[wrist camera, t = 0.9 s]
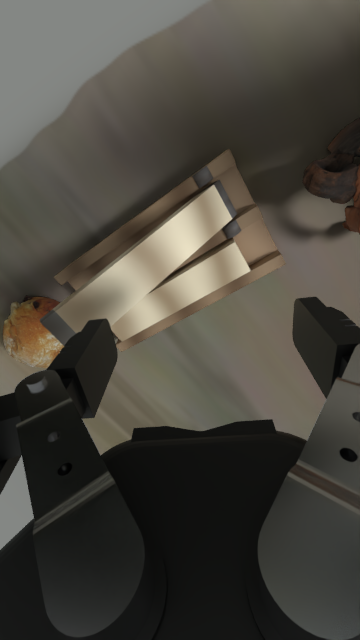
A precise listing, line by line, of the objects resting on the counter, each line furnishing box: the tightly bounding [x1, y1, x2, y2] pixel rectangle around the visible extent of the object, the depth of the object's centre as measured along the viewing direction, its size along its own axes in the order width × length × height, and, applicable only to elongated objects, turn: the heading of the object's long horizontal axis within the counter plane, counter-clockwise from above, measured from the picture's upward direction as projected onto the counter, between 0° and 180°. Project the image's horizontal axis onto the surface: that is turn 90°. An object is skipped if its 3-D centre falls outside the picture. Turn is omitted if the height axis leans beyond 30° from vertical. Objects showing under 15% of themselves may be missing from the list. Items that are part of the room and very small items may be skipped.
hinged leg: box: [40, 180, 237, 346], centre depth 23 cm, size 20×3×2 cm
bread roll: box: [3, 296, 64, 368], centre depth 38 cm, size 10×10×8 cm
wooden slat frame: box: [54, 149, 286, 352], centre depth 31 cm, size 22×12×5 cm, turn 123°
